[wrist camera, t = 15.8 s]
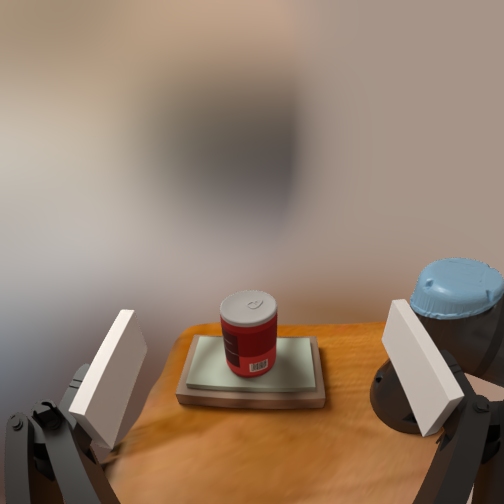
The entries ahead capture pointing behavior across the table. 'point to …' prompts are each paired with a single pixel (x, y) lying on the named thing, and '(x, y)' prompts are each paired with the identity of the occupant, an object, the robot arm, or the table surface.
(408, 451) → the table surface
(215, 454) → the table surface
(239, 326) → the canned food
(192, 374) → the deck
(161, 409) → the table surface
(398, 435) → the table surface
